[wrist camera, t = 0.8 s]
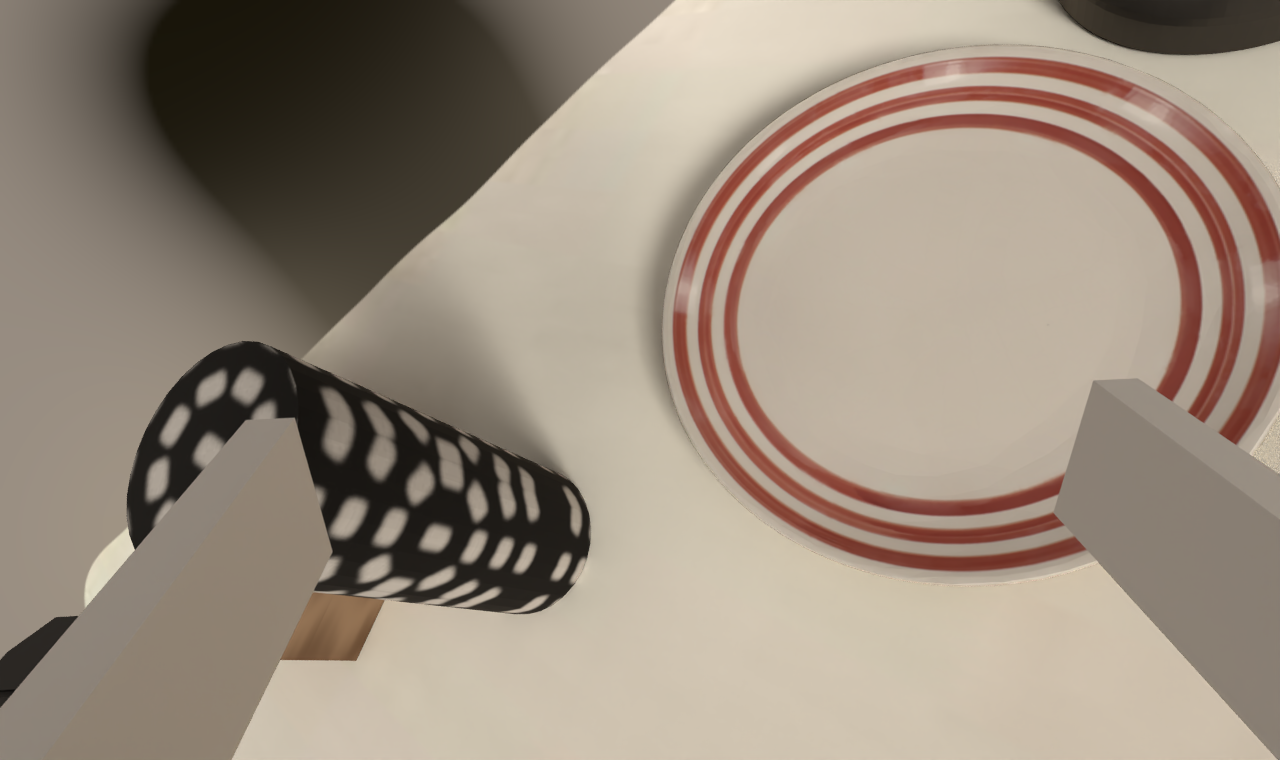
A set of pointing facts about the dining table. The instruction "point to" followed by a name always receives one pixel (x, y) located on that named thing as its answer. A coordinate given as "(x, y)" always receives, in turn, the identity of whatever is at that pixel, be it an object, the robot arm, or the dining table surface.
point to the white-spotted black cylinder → (376, 486)
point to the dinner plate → (966, 302)
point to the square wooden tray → (332, 628)
